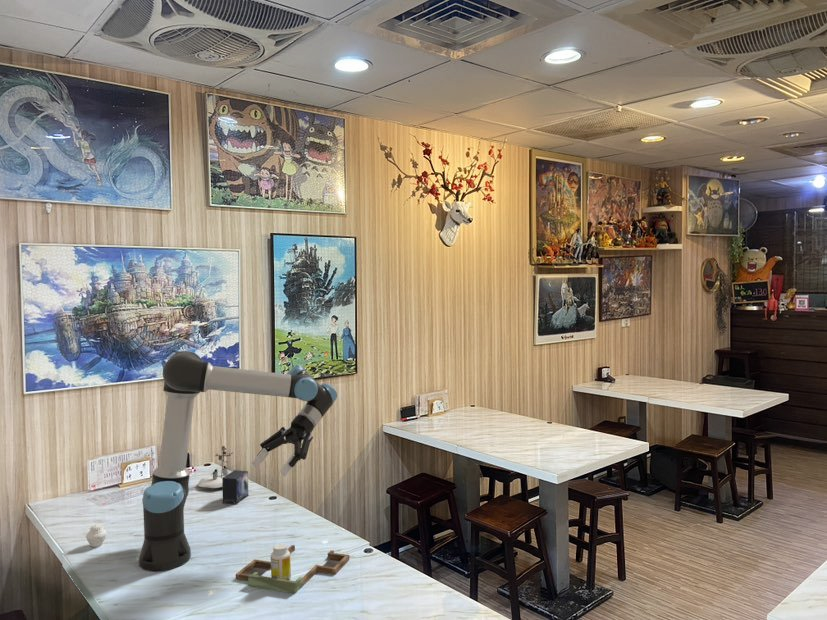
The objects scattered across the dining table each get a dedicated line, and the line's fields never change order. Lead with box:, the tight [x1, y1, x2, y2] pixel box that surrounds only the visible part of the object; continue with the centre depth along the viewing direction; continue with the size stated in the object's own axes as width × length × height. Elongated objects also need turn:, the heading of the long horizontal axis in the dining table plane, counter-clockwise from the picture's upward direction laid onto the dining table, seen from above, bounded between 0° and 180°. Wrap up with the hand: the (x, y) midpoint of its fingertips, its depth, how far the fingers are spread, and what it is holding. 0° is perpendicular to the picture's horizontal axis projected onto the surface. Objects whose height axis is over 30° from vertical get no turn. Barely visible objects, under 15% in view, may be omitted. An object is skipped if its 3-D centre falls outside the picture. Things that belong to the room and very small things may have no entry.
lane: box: [235, 544, 350, 594], centre depth 185 cm, size 25×27×3 cm
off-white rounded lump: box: [85, 524, 108, 548], centre depth 205 cm, size 6×6×7 cm
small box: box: [221, 469, 249, 505], centre depth 246 cm, size 11×6×10 cm, turn 168°
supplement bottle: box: [270, 543, 292, 580], centre depth 178 cm, size 6×6×10 cm
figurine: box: [197, 445, 233, 489], centre depth 267 cm, size 20×18×16 cm
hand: (267, 469), depth 198 cm, fingers open, 13 cm apart
